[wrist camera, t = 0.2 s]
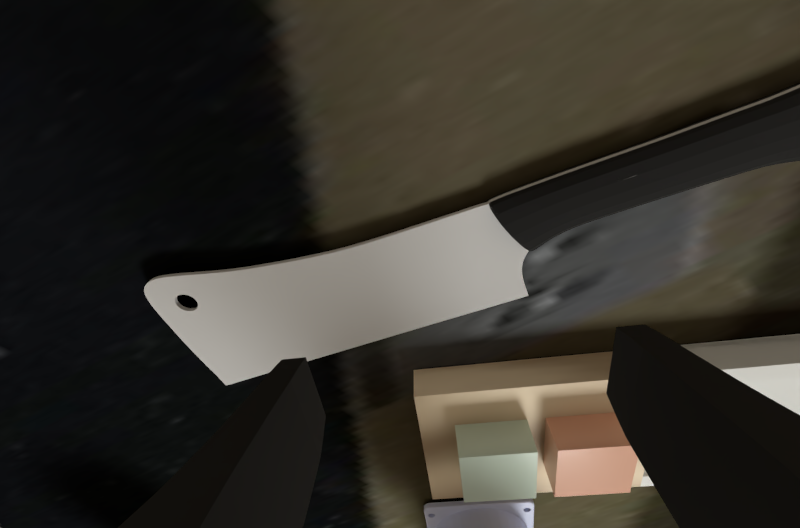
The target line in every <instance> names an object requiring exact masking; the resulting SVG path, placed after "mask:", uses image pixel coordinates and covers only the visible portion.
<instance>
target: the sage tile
mask: <svg viewBox="0 0 800 528" xmlns="http://www.w3.org/2000/svg"><path fill="white" fill-rule="evenodd" d="M455 431H456V440H457V448H458V457H459V465H460V474H461V482H462V490H463V498H464V503H466V502H482V501H498V500H515V499H531V498H536V489H537V462H538V451H537V448H536V445H535V442H534V439H533V436H532V433H531V430H530V427H529V424H528V421H527V419H525V420H512V421H500V422H487V423H475V424H462V425H455Z"/></svg>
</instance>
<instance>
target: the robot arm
mask: <svg viewBox="0 0 800 528" xmlns="http://www.w3.org/2000/svg"><path fill="white" fill-rule="evenodd" d="M606 394H607V396H608V398H609V401H610V403H611V405H612V408H613V410H614V412H615V415H616V417H617V419H618V421H619V423H620V426H621V428H622V430H623V432H624V434H625V436H626V438H627V440H628V442H629V443H630V445H631V447H632V449H633V450H634V452H635V454H636V455H637V457H638V459H639V461H640V462H641V464H642V466H643V467H644V469H645V471H646V472H647V474H648V476H649V478H650V479H651V481H652V483H653V484H654V486H655V488H656V489H657V491H658V493H659V494H660V496H661V498H662V499H663V501H664V503H665V504H666V506H667V508H668V509H669V511H670V513H671V514H672V516H673V518H674V519H675V521H676V523H677V524H678V526H679V528H800V415H799V414H797V413H795V412H793V411H791V410H790V409H788V408H786V407H784V406H783V405H781V404H779V403H777V402H775V401H774V400H772V399H770V398H768V397H767V396H765V395H763V394H761V393H760V392H758V391H756V390H754V389H753V388H751V387H749V386H748V385H746V384H744V383H743V382H741V381H739V380H737V379H736V378H734V377H732V376H731V375H729V374H727V373H726V372H724V371H722V370H721V369H719V368H717V367H716V366H714V365H712V364H711V363H709V362H707V361H706V360H704V359H702V358H701V357H699V356H697V355H696V354H694V353H692V352H691V351H689V350H687V349H686V348H684V347H683V346H681V345H679V344H678V343H676V342H674V341H673V340H671V339H669V338H668V337H666V336H664V335H662V334H661V333H659V332H657V331H656V330H654V329H652V328H650V327H648V326H647V325H636V326H625V327H616V333H615V340H614V346H613V353H612V359H611V366H610V372H609V379H608V385H607V392H606ZM325 418H326V415H325V412H324V409H323V406H322V403H321V400H320V397H319V394H318V392H317V389H316V386H315V383H314V380H313V377H312V374H311V371H310V368H309V365H308V362H307V359H306V357H303V358H293V359H283V360H281V361H280V362H279V363H278V364H277V365H276V366H275V367H274V368H273V369H272V371H271V372H270V373H269V374H268V375H267V376H266V377H265V378H264V380H263V381H262V382H261V383H260V384H259V385H258V386H257V387H256V389H255V390H254V391H253V392H252V393H251V394H250V395H249V396H248V398H247V399H246V400H245V401H244V402H243V403H242V404H241V405H240V407H239V408H238V409H237V410H236V411H235V412H234V413H233V414H232V415H231V416H230V417H229V419H228V420H227V421H226V422H225V423H224V424H223V425H222V426H221V427H220V428H219V430H218V431H217V432H216V433H215V434H214V435H213V436H212V437H211V438H210V439H209V440H208V441H207V442H206V443H205V444H204V445H203V446H202V447H201V448H200V449H199V450H198V451H197V452H196V453H195V454H194V455H193V456H192V457H191V458H190V459H189V460H188V462H187V463H186V464H185V465H184V466H183V467H182V468H181V469H180V470H179V471H178V472H177V473H176V474H175V475H174V476H173V477H172V478H171V479H170V480H169V481H168V482H167V483H166V484H165V485H164V486H162V487H161V488H160V489H159V490H158V491H157V492H156V493H155V494H154V495H153V496H152V497H151V498H150V499H149V500H148V501H147V502H146V503H144V504H143V505H142V506H141V507H140V508H139V509H138V510H137V511H136V512H134V513H133V514H132V515H131V516H130V517H129V518H128V519H127V520H126V521H124V522H123V523H122V524H121V525H120V526H119V527H118V528H303V525H304V521H305V517H306V513H307V509H308V506H309V502H310V498H311V494H312V490H313V486H314V482H315V478H316V474H317V470H318V465H319V461H320V456H321V449H322V443H323V435H324V427H325ZM424 514H425V519H426V524H427V528H533V526H534V502H533V499H532V498H531V499H515V500H498V501H482V502H466V503H464V501H450V502H434V503H427V504H425V505H424Z"/></svg>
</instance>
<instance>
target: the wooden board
mask: <svg viewBox="0 0 800 528" xmlns="http://www.w3.org/2000/svg"><path fill="white" fill-rule="evenodd" d="M612 353H613V351H610V352H599V353H588V354H578V355H567V356H556V357H546V358H535V359H525V360H514V361H503V362H493V363H482V364H471V365H461V366H450V367H439V368H429V369H418V370H414V401H415V406H416V412H417V417H418V422H419V428H420V433H421V439H422V444H423V450H424V455H425V460H426V466H427V471H428V477H429V482H430V488H431V493H432V499H447V498H463V490H462V482H461V474H460V465H459V457H458V448H457V440H456V431H455V425H462V424H475V423H487V422H500V421H512V420H525V419H527V421H528V424H529V427H530V430H531V433H532V436H533V439H534V442H535V445H536V448H537V451H538V462H537V489H536V493H543V492H553V491H552V488H551V485H550V482H549V479H548V476H547V473H546V470H545V467H544V464H543V461H544V440H545V420H546V418H550V417H563V416H575V415H588V414H600V413H613V412H614V410H613V408H612V405H611V403H610V401H609V398H608V396H607V394H606V392H607V385H608V379H609V372H610V366H611V359H612ZM644 470H645V469H644V467H643V466H642V464H641V462H640V461H639V459H638V460H637V464H636V468H635V473H634V477H633V481H632V486H631V487H639V486H641V482H642V478H643V474H644Z"/></svg>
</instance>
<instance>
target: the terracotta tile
mask: <svg viewBox="0 0 800 528" xmlns="http://www.w3.org/2000/svg"><path fill="white" fill-rule="evenodd" d="M637 460H638V457H637V455H636V454H635V452H634V450H633V449H632V447H631V445H630V443H629V442H628V440H627V438H626V436H625V434H624V432H623V430H622V428H621V426H620V423H619V421H618V419H617V417H616V415H615V412H613V413H600V414H588V415H575V416H563V417H550V418H546V420H545V440H544V461H543V464H544V467H545V470H546V473H547V476H548V479H549V482H550V485H551V488H552V491H553V494H554V497H564V496H580V495H597V494H613V493H629V492H630V490H631V486H632V481H633V477H634V473H635V468H636V464H637Z"/></svg>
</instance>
